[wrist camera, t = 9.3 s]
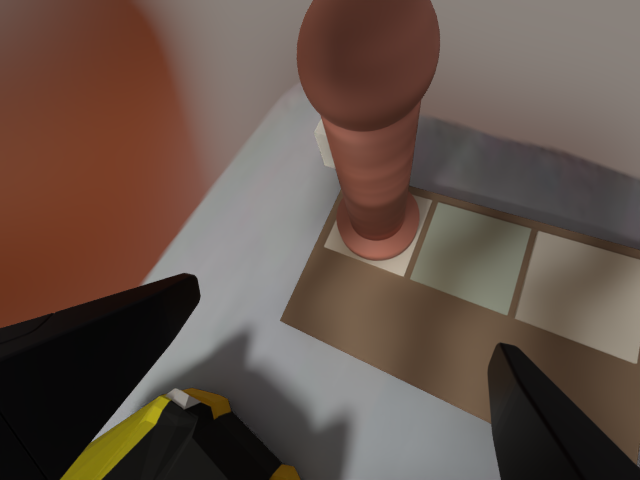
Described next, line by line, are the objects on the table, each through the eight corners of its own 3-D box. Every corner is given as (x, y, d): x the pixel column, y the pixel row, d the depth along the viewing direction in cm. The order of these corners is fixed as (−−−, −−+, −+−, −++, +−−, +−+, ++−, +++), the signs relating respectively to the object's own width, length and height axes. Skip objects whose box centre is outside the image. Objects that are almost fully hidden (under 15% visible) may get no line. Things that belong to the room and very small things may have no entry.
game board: (652, 262, 17) (670, 256, 16) (616, 483, 15) (635, 494, 13) (351, 176, 23) (349, 167, 22) (284, 322, 20) (278, 320, 19)
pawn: (434, 223, 19) (543, -54, 6) (376, 277, 19) (354, 109, 6) (377, 176, 21) (364, -111, 8) (324, 224, 21) (215, 7, 8)
